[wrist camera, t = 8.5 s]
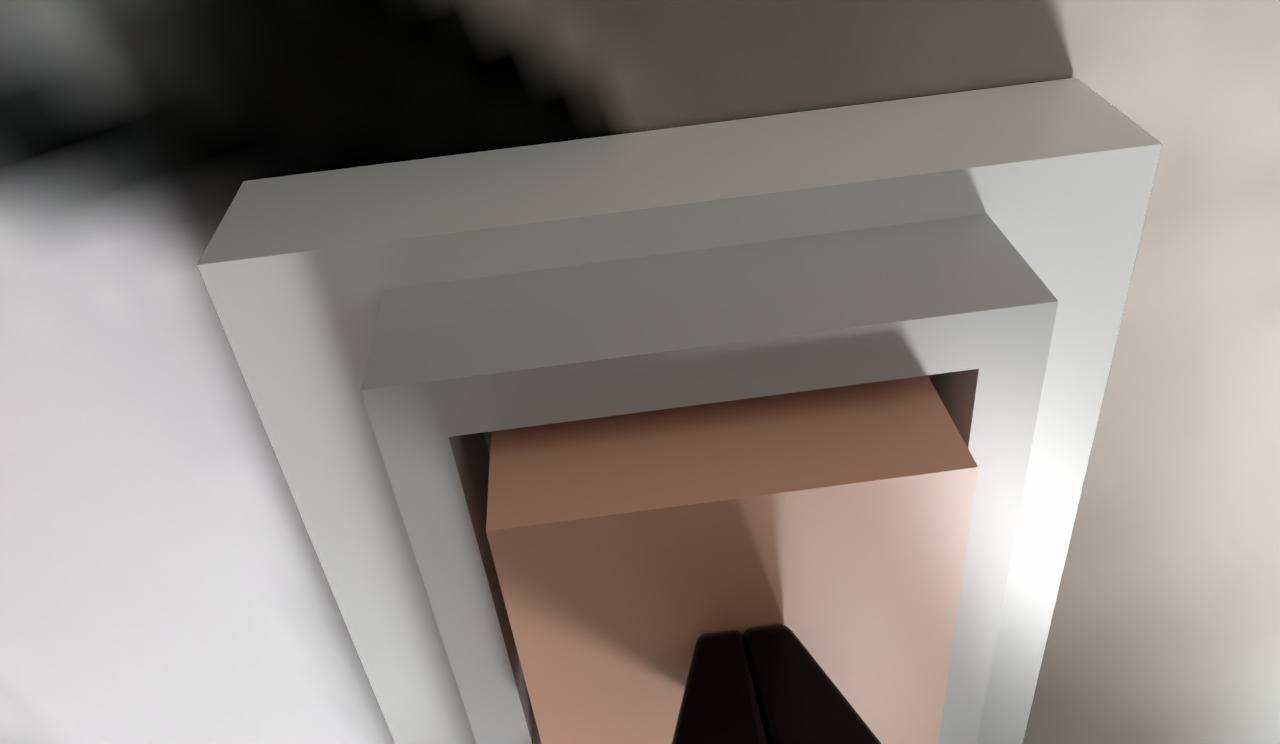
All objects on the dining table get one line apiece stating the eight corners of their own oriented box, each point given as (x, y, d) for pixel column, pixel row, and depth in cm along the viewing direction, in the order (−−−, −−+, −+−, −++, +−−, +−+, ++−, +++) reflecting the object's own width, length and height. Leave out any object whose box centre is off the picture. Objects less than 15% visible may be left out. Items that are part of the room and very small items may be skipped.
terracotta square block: (902, 330, 10) (978, 467, 8) (882, 604, 12) (936, 752, 10) (493, 383, 10) (485, 531, 8) (553, 647, 12) (557, 803, 10)
